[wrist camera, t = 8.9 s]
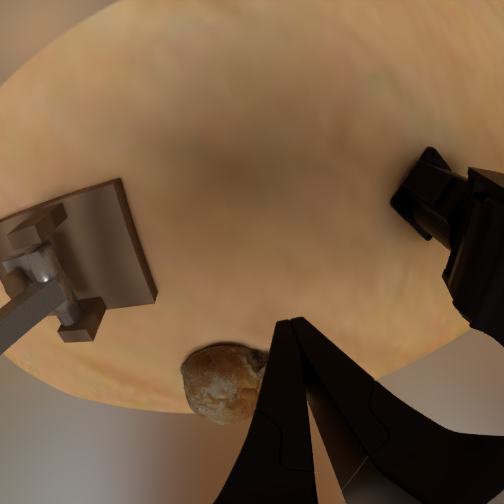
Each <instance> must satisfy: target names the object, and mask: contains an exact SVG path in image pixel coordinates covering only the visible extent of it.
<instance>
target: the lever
mask: <svg viewBox="0 0 504 504" xmlns="http://www.w3.org/2000/svg"><path fill="white" fill-rule="evenodd" d="M24 255H25V257H26V259H27V262H28V264H29V266H30V268H31V269H30V270H28V271H27V272H26V275H27V277H28V279H29V281H30V283H31V285H30V286H29V287H27V288H26V289H25V290H23V291H22V292H21V293H19V294H18V295H17V296H16V297H14V298H13V299H12V300H10V301H9V302H8V303H7V304H5V305H4V306H3V307H2V308H0V355H1V354H2V353H3V352H4V351H6V350H7V349H8V348H9V347H10V346H11V345H12V344H14V343H15V342H16V341H17V340H18V339H19V338H21V337H22V336H23V335H24V334H25V333H26V332H28V331H29V330H30V329H31V328H32V327H34V326H35V325H36V324H37V323H39V322H40V321H41V320H42V319H43V318H45V317H46V316H47V315H48V314H50V313H51V312H52V311H54V313H55V314H56V316H57V318H58V319H59V321H60V323H61V324H62V325H64V326H69V325H72V324H74V323H75V322H77V321H78V320H79V319H80V318H81V317H82V315H83V309H82V307H81V305H80V303H79V301H78V299H77V297H76V296H75V294H74V292H73V290H72V288H71V286H70V284H69V282H68V280H67V278H66V276H65V274H64V271H63V269H62V267H61V265H60V263H59V261H58V258H57V256H56V254H55V251H54V249H53V247H52V244H51V242H50V240H48V239H47V240H43V241H42V242H41V243H38V244H35V245H33V246H32V247H30V248H29V249H28V250H27V251H26V252H25V254H24Z"/></svg>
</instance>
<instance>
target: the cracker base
mask: <svg viewBox="0 0 504 504" xmlns="http://www.w3.org/2000/svg"><path fill="white" fill-rule="evenodd" d="M47 239H48V240H50V242H51V244H52V247H53V249H54V251H55V254H56V256H57V258H58V261H59V263H60V265H61V267H62V269H63V271H64V274H65V276H66V278H67V280H68V282H69V284H70V286H71V288H72V290H73V292H74V294H75V296H76V297H77V299H78V301H79V303H80V305H81V307H82V309H83V315H82V317H81V318H80V319H79V320H78V321H77V322H75V323H74V324H72V325H69V326H64V325H62V324H61V325H60V327H59V329H58V331H57V332H58V334H59V335H60V337H61V338H62V340H63V341H64V342H65V343H66V342H87V341H93V340H94V338H95V335H96V333H97V330H98V328H99V325H100V323H101V320H102V318H103V316H104V313H105V311H106V310H108V309H116V308H123V307H131V306H139V305H146V304H153V303H155V301H156V297H157V293H158V292H157V289H156V286H155V284H154V281H153V279H152V276H151V273H150V270H149V268H148V265H147V262H146V259H145V256H144V254H143V251H142V248H141V245H140V242H139V239H138V236H137V233H136V230H135V227H134V223H133V220H132V217H131V214H130V210H129V207H128V204H127V200H126V197H125V193H124V190H123V186H122V182H121V179H120V178H118V179H115V180H111V181H108V182H104V183H101V184H98V185H94V186H91V187H88V188H85V189H81V190H78V191H75V192H72V193H69V194H66V195H63V196H60V197H57V198H55V199H52V200H49V201H46V202H44V203H41V204H38V205H35V206H33V207H30V208H28V209H25V210H23V211H20V212H18V213H15V214H13V215H10V216H8V217H6V218H3V219H1V220H0V280H1V282H2V284H3V286H4V289H5V292H6V293H7V295H8V296H9V297H10V298H11V300H12V299H13V298H14V297H16V296H17V295H18V294H19V293H21V292H22V291H23V290H25V289H26V288H27V287H29V286H30V285H31V283H30V281H29V279H28V277H27V275H26V272H27V271H28V270H30V269H31V268H30V266H29V264H28V262H27V259H26V257H25V255H24V254H25V252H26V251H27V250H28V249H29V248H30V247H32V246H33V245H35V244H38V243H41V242H42V241H43V240H47ZM53 315H56V314H55V313H54V311H52V312H51V313H50V314H48V315H47V316H53Z"/></svg>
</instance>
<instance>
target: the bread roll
mask: <svg viewBox="0 0 504 504" xmlns="http://www.w3.org/2000/svg"><path fill="white" fill-rule="evenodd" d="M266 363H267V358H266V356H265V355H263V354H261V353H259V352H258V351H254V350H251V349H249V348H246V347H236V346H230V345H220V346H215V347H212V348H205V349H204V350H202V351H200V352H197V353H195V354H194V355H192V356H190V357H189V358H188V360H187V362H186V363H185V364H182V366H181V369H180V371H181V374H183V380H184V391H185V394H186V398H187V401H188V404H189V406H190V408H191V409H192V410H193V411H194V412H195V413H196V414H197V415H199V416H200V417H202V418H203V419H205V420H208V421H212V422H214V423H215V424H218V425H223V424H233V423H237V422H241V421H244V420H246V419H249V418H251V417H253V414H254V410H255V407H256V403H257V399H258V395H259V391H260V387H261V383H262V379H263V375H264V371H265V367H266Z"/></svg>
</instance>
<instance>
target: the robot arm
mask: <svg viewBox="0 0 504 504" xmlns="http://www.w3.org/2000/svg"><path fill="white" fill-rule="evenodd" d="M431 151H432V155H431ZM467 174H468V179H467V178H465V177H463V176H461V175H459V174H457V173H454V172H452V170H451V169H450V168H449V166H448V165H447V164H446V162H445V161H444V160H443V158H442V157H441V156H440V154H439V153H438V152H437V150H436V149H435V148H432V147H428V148H427V149H426V151H425V152H424V154H423V155H422V157H421V158H420V160H419V161H418V163H417V164H416V166H415V167H414V169H413V170H412V171H411V173H410V174H409V176H408V177H407V179H406V180H405V181H404V183H403V184H402V186H401V187H400V189H399V190H398V191H397V193H396V194H395V195H394V197H393V198H392V200H391V203H390V204H391V207H392V208H393V209H394V210H396V211H397V212H398V213H399V214H400V215H401V216H402V217H403V218H404V219H405V220H406V221H407V222H408V223H409V224H410V225H411V226H412V227H413V228H414V229H415V230H416V231H417V232H418V233H419V234H420V235H421V236H422V237H423V238H424V239H425V240H427V241H429V240H431V238H432V237H434V238H435V239H436V240H438V241H439V242H440V243H441V244H443V245H444V246H445V247H446V248H447V249H449V250H450V251H451V253H450V256H449V259H448V262H447V265H446V268H445V269H444V271H443V274H442V278H443V280H444V282H445V284H446V286H447V288H448V290H449V292H450V294H451V296H452V298H453V302H452V303H453V305H454V307H455V308H456V309H457V310H458V311H459V313H460V314H461V315H462V317H463V318H465V319H466V320H467V321H468V322H470V324H469V326H470V327H471V328H473V329H476V330H479V331H482V332H484V333H486V334H487V335H489V336H491V337H492V338H494V339H495V340H496V341H498V342H499V343H500V344H501V345H502V346H503V347H504V174H502V173H499V172H494V171H489V170H484V169H479V168H473V167H468V173H467ZM397 201H398V203H397V205H395V203H396V202H397ZM427 235H428V236H427ZM306 398H307V399H306ZM307 401H308V403H309V406H310V409H311V411H312V414H313V417H314V419H315V422H316V425H317V427H318V430H319V433H320V435H321V438H322V440H323V443H324V446H325V448H326V451H327V454H328V456H329V459H330V461H331V464H332V467H333V470H334V472H335V475H336V478H337V480H338V483H339V486H340V488H341V490H342V493H343V496H344V499H345V502H346V504H504V436H491V435H477V434H466V433H458V432H454V431H451V430H449V429H446V428H444V427H442V426H441V425H439V424H437V423H436V422H434V421H432V420H431V419H429V418H427V417H426V416H424V415H423V414H421V413H419V412H418V411H417V410H415V409H413V408H412V407H410V406H409V405H407V404H406V403H404V402H403V401H401V400H400V399H399V398H397V397H396V396H394V395H393V394H392V393H391V392H390V391H388V390H387V389H386V388H385V387H383V386H382V385H381V384H380V383H379V382H377V381H376V380H375V381H374V378H373V377H372V376H370V375H369V374H368V373H367V372H366V371H365V370H363V369H362V368H361V367H360V366H359V365H358V364H357V363H355V362H354V361H353V360H352V359H351V358H350V357H348V356H347V355H346V354H345V353H344V352H343V351H342V350H340V349H339V348H338V347H337V346H336V345H335V344H334V343H332V342H331V341H330V340H329V339H328V338H327V337H326V336H324V335H323V334H322V333H321V332H320V331H319V330H318V329H316V328H315V327H314V326H313V325H312V324H311V323H310V322H308V321H307V320H306V319H305V318H304V317H296V318H292V319H290V320H288V319H286V320H281V321H277V322H276V325H275V329H274V334H273V338H272V342H271V346H270V351H269V355H268V359H267V363H266V367H265V371H264V375H263V379H262V383H261V387H260V391H259V395H258V399H257V403H256V407H255V410H254V414H253V418H252V421H251V424H250V428H249V431H248V434H247V437H246V439H245V442H244V444H243V447H242V449H241V452H240V454H239V456H238V458H237V460H236V462H235V464H234V466H233V468H232V470H231V472H230V474H229V477H228V479H227V481H226V483H225V485H224V486H223V488H222V490H221V492H220V494H219V495H218V497H217V498H216V500H215V501H214V502H213V504H318V498H317V492H316V484H315V474H314V463H313V453H312V443H311V433H310V424H309V416H308V407H307Z"/></svg>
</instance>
